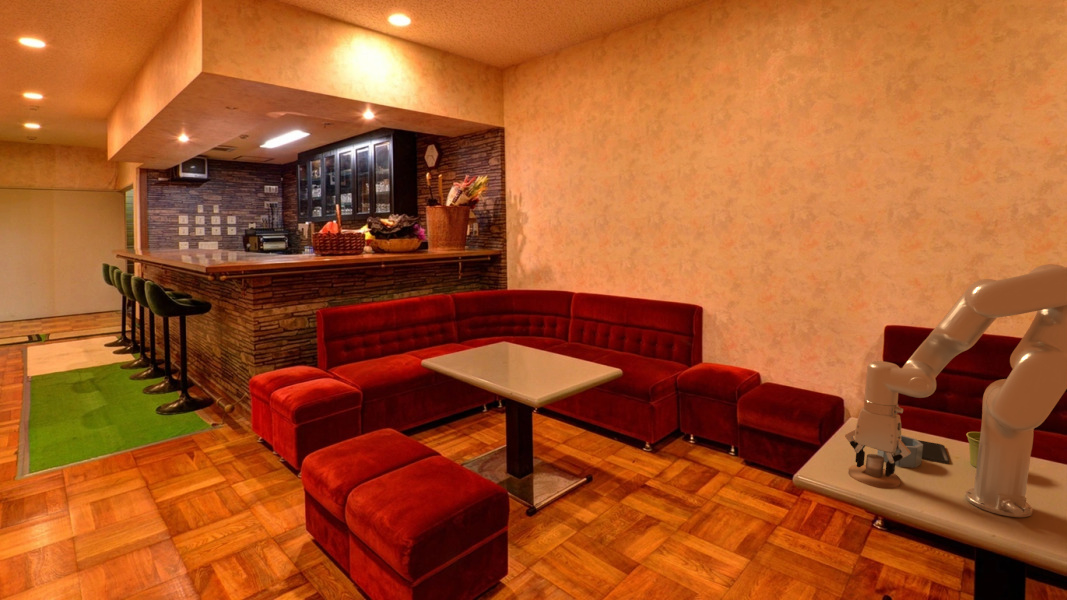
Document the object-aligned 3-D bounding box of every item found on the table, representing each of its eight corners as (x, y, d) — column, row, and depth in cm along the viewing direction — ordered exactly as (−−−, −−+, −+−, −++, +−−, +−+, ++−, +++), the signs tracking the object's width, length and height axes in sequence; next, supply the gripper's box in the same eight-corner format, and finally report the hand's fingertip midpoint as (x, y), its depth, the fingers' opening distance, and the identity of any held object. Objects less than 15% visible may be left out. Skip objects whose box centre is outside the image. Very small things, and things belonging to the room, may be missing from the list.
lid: (908, 491, 140) (910, 468, 139) (857, 486, 142) (859, 464, 141) (888, 470, 151) (890, 450, 151) (841, 466, 154) (843, 446, 153)
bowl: (926, 468, 152) (928, 448, 151) (887, 465, 154) (889, 445, 153) (909, 454, 162) (911, 435, 161) (873, 451, 164) (874, 432, 163)
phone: (944, 444, 167) (949, 462, 155) (943, 448, 168) (949, 465, 155) (913, 439, 172) (916, 455, 159) (913, 442, 172) (916, 459, 159)
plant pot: (1013, 470, 151) (1016, 441, 150) (992, 476, 148) (996, 446, 146) (975, 457, 160) (979, 430, 158) (955, 462, 156) (958, 434, 155)
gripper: (922, 413, 140) (915, 478, 142) (851, 396, 153) (846, 456, 156) (912, 419, 135) (905, 486, 138) (839, 402, 149) (834, 463, 151)
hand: (874, 469), depth 147 cm, fingers open, 6 cm apart
